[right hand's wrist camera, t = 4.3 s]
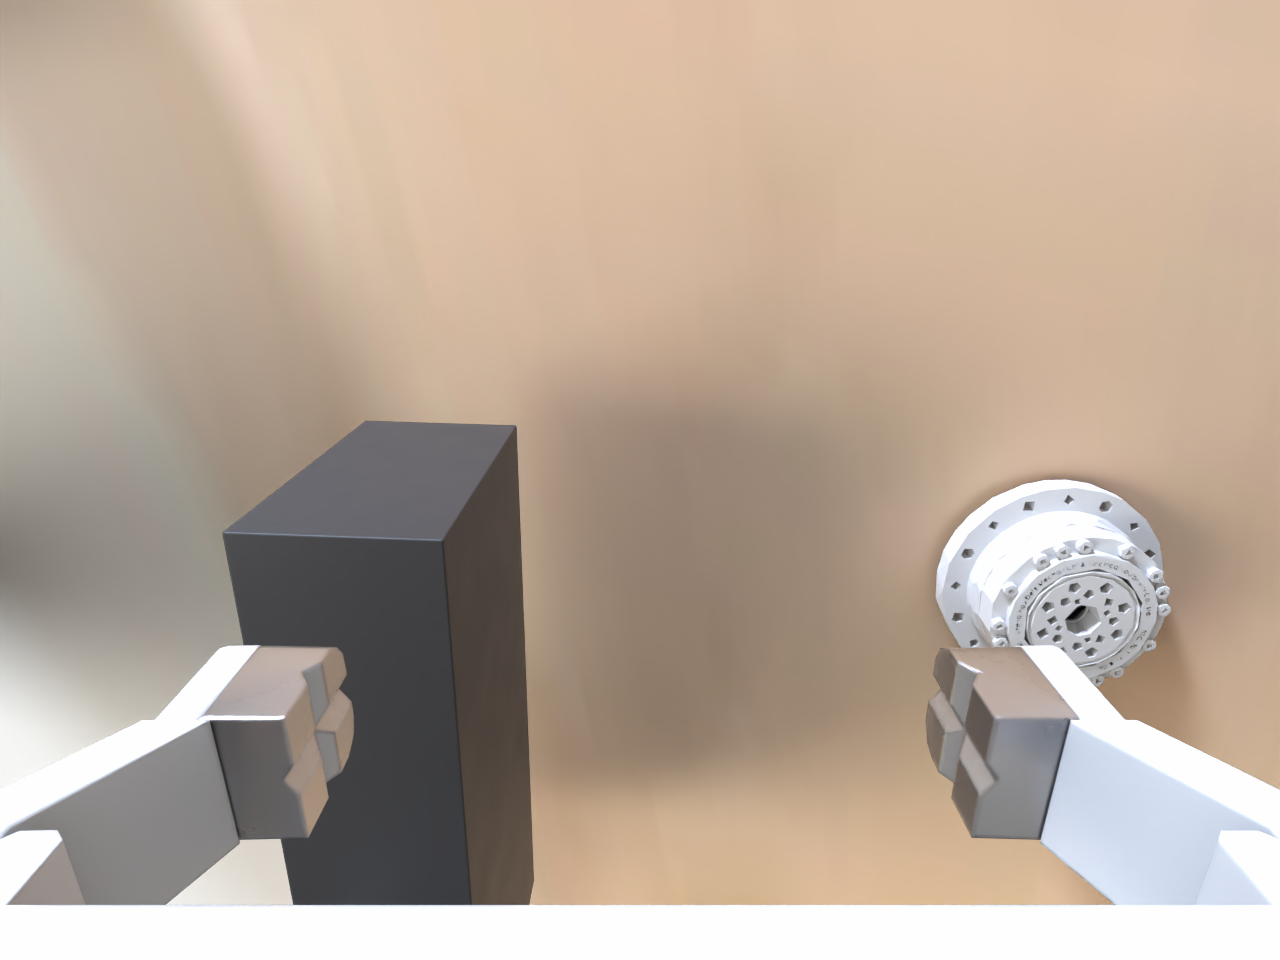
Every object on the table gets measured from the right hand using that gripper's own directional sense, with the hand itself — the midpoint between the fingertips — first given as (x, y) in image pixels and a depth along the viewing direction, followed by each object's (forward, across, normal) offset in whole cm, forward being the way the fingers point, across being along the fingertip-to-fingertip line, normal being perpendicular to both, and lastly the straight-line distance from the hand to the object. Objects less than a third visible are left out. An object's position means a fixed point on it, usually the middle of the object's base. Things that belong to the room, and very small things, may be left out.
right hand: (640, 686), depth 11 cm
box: (+20, -8, -14) cm, 26 cm away
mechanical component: (+25, +19, -11) cm, 33 cm away
